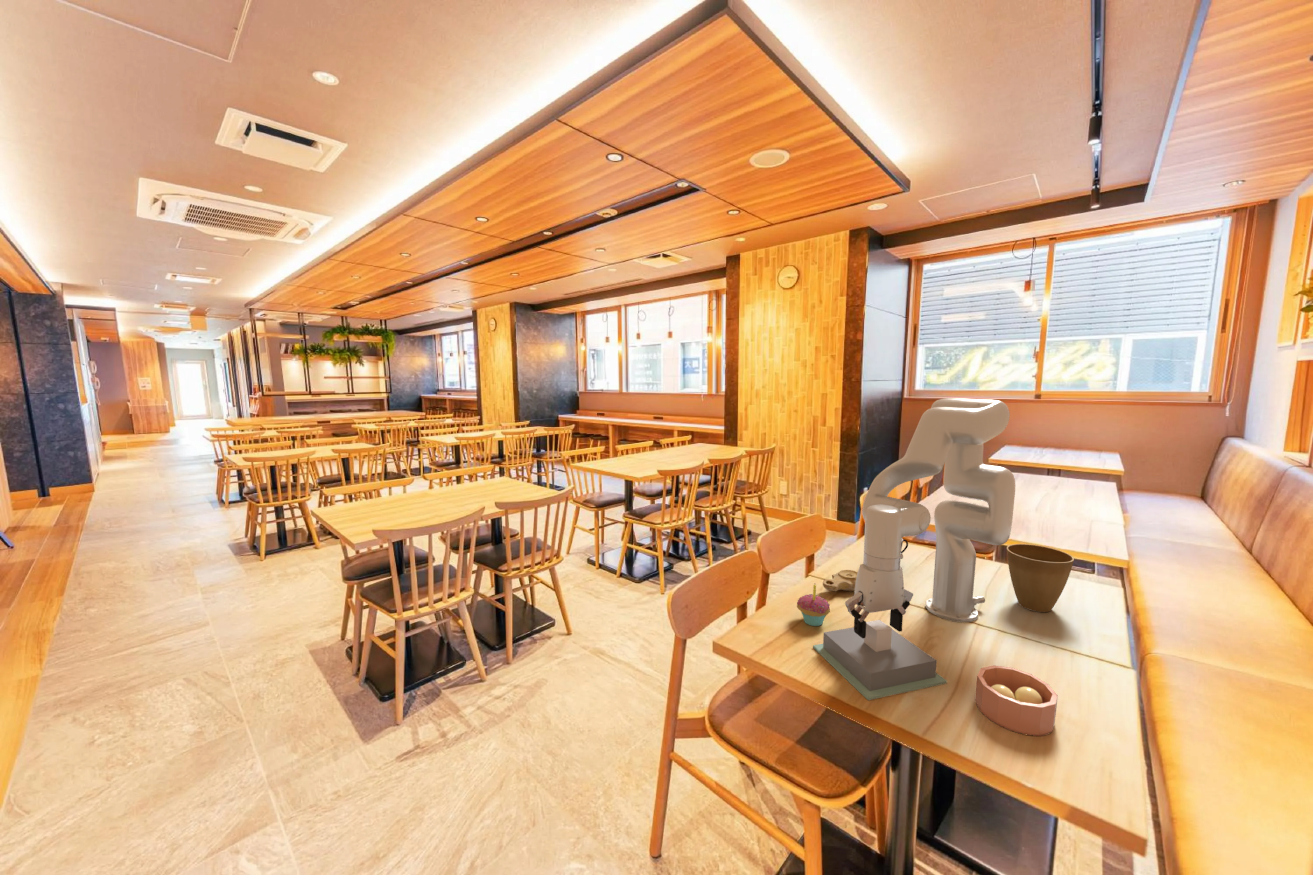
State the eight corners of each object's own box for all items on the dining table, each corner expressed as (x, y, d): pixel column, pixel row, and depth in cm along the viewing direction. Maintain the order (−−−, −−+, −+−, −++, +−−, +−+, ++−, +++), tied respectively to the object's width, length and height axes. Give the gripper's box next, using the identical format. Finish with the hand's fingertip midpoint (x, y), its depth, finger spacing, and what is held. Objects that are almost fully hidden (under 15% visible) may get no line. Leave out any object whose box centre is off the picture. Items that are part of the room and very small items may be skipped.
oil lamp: (820, 594, 148) (820, 579, 147) (832, 577, 160) (833, 563, 159) (857, 603, 142) (858, 587, 141) (867, 585, 154) (868, 570, 153)
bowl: (1008, 687, 104) (1010, 661, 103) (1070, 728, 92) (1073, 699, 91) (961, 698, 101) (963, 671, 100) (1019, 741, 89) (1022, 711, 88)
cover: (881, 637, 123) (883, 603, 122) (935, 677, 107) (938, 638, 106) (823, 647, 119) (824, 612, 117) (870, 691, 103) (872, 651, 101)
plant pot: (1079, 611, 136) (1085, 556, 134) (1049, 624, 129) (1055, 566, 127) (1020, 590, 149) (1024, 539, 147) (990, 600, 143) (995, 548, 140)
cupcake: (831, 631, 127) (833, 587, 125) (797, 628, 129) (799, 585, 127) (827, 615, 135) (828, 573, 134) (795, 612, 137) (796, 571, 136)
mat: (881, 635, 125) (882, 633, 125) (946, 683, 106) (947, 680, 106) (812, 647, 120) (813, 645, 120) (868, 700, 101) (868, 697, 101)
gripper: (901, 550, 115) (897, 618, 118) (837, 558, 111) (834, 629, 113) (926, 562, 108) (921, 634, 110) (859, 571, 104) (856, 646, 106)
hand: (877, 631), depth 112 cm, fingers open, 9 cm apart
